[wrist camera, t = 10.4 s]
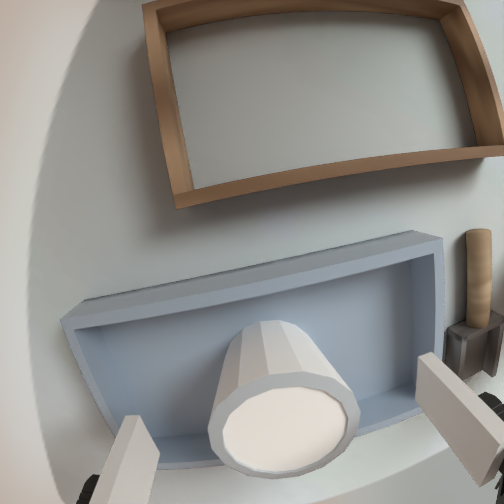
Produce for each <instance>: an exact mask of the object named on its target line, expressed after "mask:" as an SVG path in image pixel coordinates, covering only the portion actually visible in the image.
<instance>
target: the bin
mask: <svg viewBox="0 0 504 504" xmlns="http://www.w3.org/2000/svg"><path fill="white" fill-rule="evenodd" d="M444 314H445V279H444V254H443V238H440V237H437V236H433V235H429V234H425V233H421V232H417V231H413V230H411V231H406V232H402V233H398V234H393V235H389V236H384V237H380V238H376V239H371V240H367V241H362V242H358V243H353V244H349V245H344V246H340V247H335V248H331V249H326V250H322V251H317V252H313V253H308V254H304V255H299V256H295V257H290V258H285V259H281V260H276V261H271V262H267V263H262V264H257V265H253V266H248V267H243V268H239V269H234V270H229V271H224V272H220V273H215V274H210V275H205V276H201V277H196V278H191V279H186V280H181V281H176V282H172V283H167V284H162V285H157V286H152V287H147V288H142V289H137V290H132V291H127V292H122V293H117V294H112V295H107V296H102V297H97V298H92V299H87V300H84V301H83V302H81V303H80V304H79V305H78V306H76V307H75V308H74V309H72V310H71V311H70V312H69V313H67V314H66V315H65V316H63V317H62V318H61V319H60V322H61V324H62V327H63V330H64V332H65V335H66V337H67V340H68V342H69V345H70V347H71V350H72V352H73V355H74V357H75V359H76V362H77V364H78V366H79V369H80V371H81V373H82V375H83V377H84V380H85V382H86V384H87V386H88V388H89V390H90V392H91V394H92V396H93V398H94V400H95V402H96V404H97V406H98V408H99V410H100V412H101V414H102V416H103V417H104V419H105V421H106V423H107V425H108V426H109V428H110V430H111V432H112V434H113V435H114V437H115V439H116V436H117V434H118V432H119V429H120V427H121V425H122V422H123V420H124V418H125V416H128V415H140V417H141V419H142V421H143V423H144V425H145V427H146V428H147V430H148V432H149V434H150V436H151V438H152V440H153V441H154V443H155V445H156V447H157V449H158V450H159V452H160V456H159V460H158V464H157V468H156V470H168V469H188V468H201V467H212V466H221V465H225V464H224V463H223V461H222V460H221V459H220V458H219V457H218V456H217V455H216V453H215V452H214V451H213V450H212V449H211V444H210V439H209V434H208V425H209V421H210V416H211V412H212V408H213V404H214V400H215V396H216V392H217V388H218V384H219V380H220V376H221V372H222V368H223V363H224V359H225V356H226V353H227V350H228V348H229V345H230V342H231V341H232V340H233V339H234V338H235V337H236V336H237V335H238V334H239V332H240V331H241V330H242V329H244V328H246V327H248V326H251V325H253V324H255V323H257V322H259V321H270V320H281V321H284V322H288V323H291V324H294V325H296V326H298V327H299V328H300V329H301V330H302V331H304V332H305V333H306V334H307V335H308V336H309V337H310V338H311V339H312V341H313V342H314V343H315V345H316V346H317V347H318V348H319V350H320V351H321V352H322V354H323V355H324V356H325V357H326V359H327V360H328V361H329V363H330V364H331V365H332V366H333V368H334V369H335V370H336V371H337V373H338V374H339V375H340V377H341V378H342V379H343V380H344V382H345V383H346V384H347V386H348V387H349V388H350V389H351V391H352V392H353V394H354V396H355V399H356V401H357V404H358V406H359V409H360V411H361V414H360V419H359V425H358V431H357V434H356V435H355V436H354V437H357V436H361V435H364V434H367V433H370V432H373V431H376V430H378V429H381V428H384V427H387V426H389V425H392V424H395V423H397V422H400V421H403V420H405V419H408V418H410V417H413V416H415V415H417V414H420V413H422V412H424V411H423V410H422V409H421V407H420V406H419V405H418V404H417V402H416V401H415V393H416V381H417V367H418V356H421V355H424V354H426V353H429V352H432V353H433V354H435V355H436V356H437V357H438V358H439V359H440V360H441V361H442V354H443V339H444Z"/></svg>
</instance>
